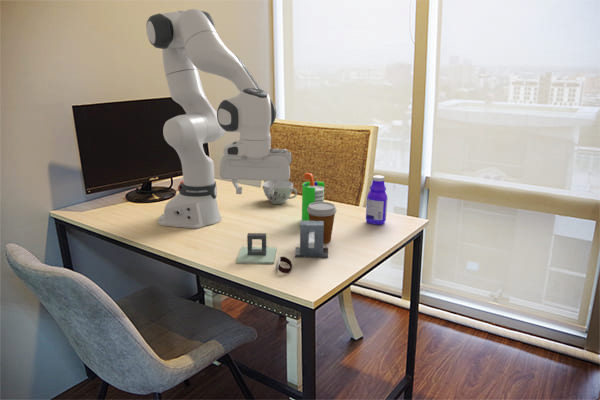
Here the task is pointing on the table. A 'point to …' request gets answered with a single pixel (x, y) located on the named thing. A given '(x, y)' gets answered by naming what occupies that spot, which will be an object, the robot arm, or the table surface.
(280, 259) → the watch
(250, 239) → the link
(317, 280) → the table surface
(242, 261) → the mat
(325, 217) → the disposable coffee cup
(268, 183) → the teacup
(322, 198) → the green-shelled ribbed roller
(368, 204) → the bottle
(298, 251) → the hook stand
